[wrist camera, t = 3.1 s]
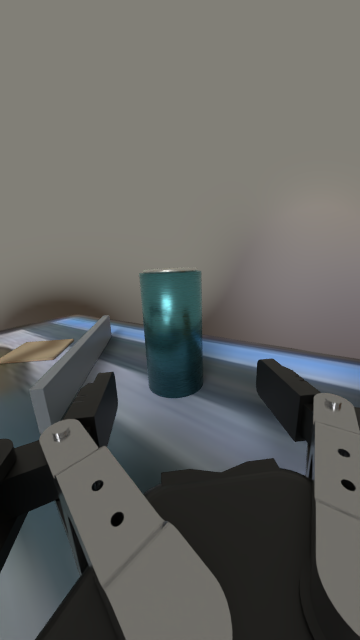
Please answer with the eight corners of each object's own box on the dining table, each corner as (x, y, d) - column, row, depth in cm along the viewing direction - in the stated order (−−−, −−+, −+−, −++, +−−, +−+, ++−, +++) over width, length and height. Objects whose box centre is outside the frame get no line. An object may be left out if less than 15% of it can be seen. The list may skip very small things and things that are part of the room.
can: (147, 400, 21) (136, 271, 18) (149, 371, 27) (141, 269, 24) (208, 394, 22) (207, 268, 18) (197, 367, 27) (195, 267, 24)
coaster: (-6, 364, 31) (-7, 362, 30) (26, 343, 38) (26, 342, 38) (53, 359, 31) (53, 357, 31) (73, 340, 39) (73, 339, 39)
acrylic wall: (39, 434, 17) (29, 390, 16) (106, 336, 40) (103, 315, 39) (52, 432, 17) (42, 388, 16) (111, 336, 41) (109, 315, 40)
